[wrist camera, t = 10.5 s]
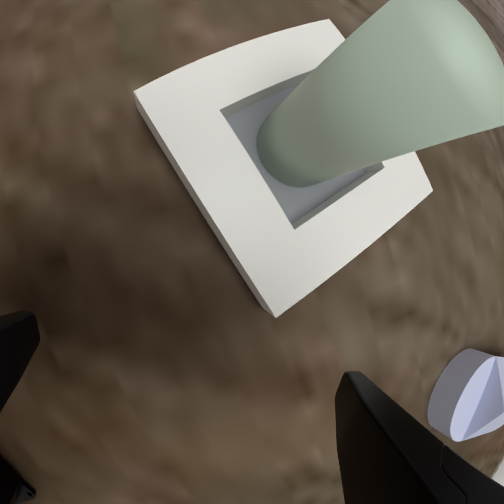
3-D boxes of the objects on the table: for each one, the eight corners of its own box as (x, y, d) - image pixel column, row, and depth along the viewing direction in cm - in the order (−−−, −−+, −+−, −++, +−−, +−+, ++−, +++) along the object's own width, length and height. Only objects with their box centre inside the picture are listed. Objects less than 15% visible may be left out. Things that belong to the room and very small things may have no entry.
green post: (263, 190, 18) (447, 111, 5) (251, 110, 17) (382, -41, 5) (337, 184, 19) (525, 135, 7) (324, 111, 19) (478, 12, 6)
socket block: (262, 308, 19) (276, 317, 16) (136, 108, 16) (133, 91, 14) (411, 194, 21) (433, 190, 19) (314, 35, 19) (328, 19, 17)
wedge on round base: (502, 352, 27) (449, 345, 24) (544, 365, 20) (505, 364, 17) (476, 421, 27) (414, 432, 23) (514, 439, 20) (460, 463, 17)
